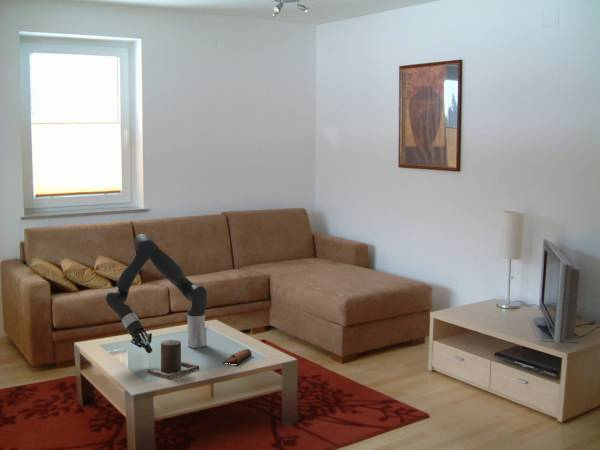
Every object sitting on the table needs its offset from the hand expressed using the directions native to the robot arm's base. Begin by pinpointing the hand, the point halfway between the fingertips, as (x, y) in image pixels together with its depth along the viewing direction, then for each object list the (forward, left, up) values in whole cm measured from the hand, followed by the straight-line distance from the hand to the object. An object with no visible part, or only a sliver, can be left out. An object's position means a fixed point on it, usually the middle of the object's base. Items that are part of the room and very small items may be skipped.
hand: (150, 352), depth 351 cm
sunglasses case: (-39, +17, -7) cm, 43 cm away
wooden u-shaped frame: (-5, +14, -6) cm, 17 cm away
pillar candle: (-5, +12, -7) cm, 15 cm away
